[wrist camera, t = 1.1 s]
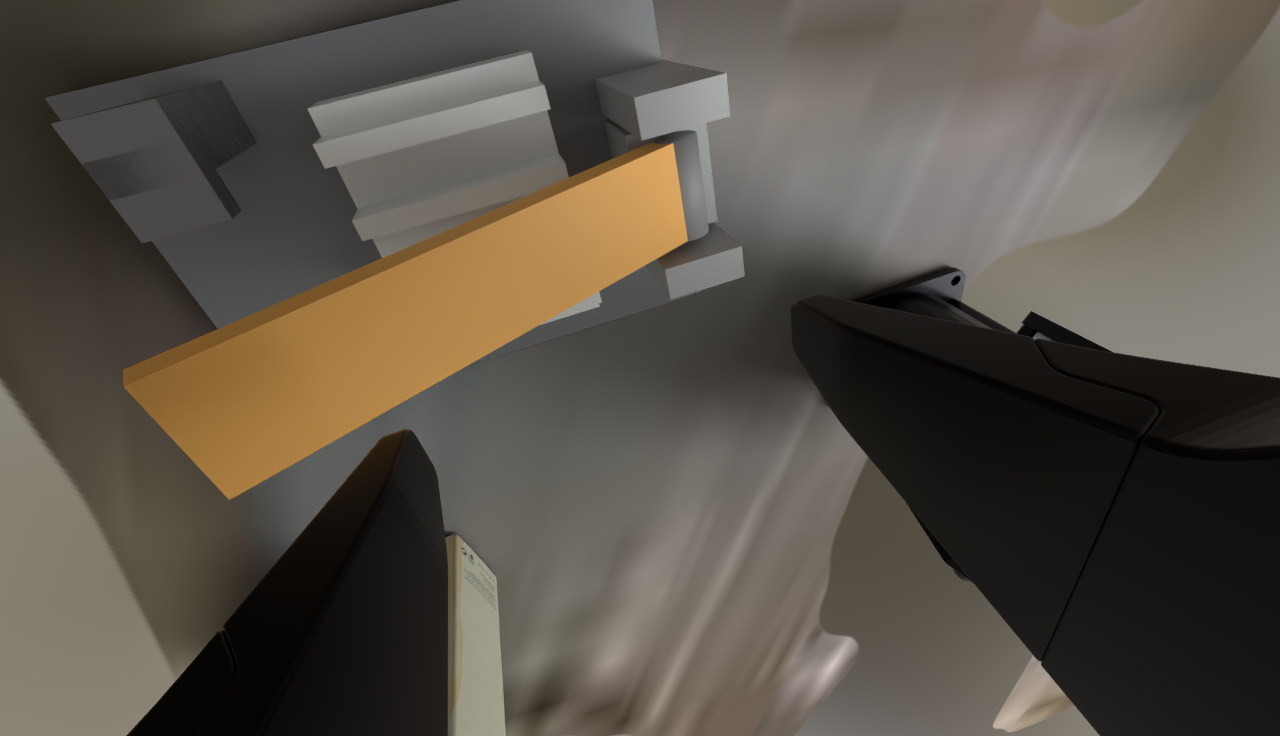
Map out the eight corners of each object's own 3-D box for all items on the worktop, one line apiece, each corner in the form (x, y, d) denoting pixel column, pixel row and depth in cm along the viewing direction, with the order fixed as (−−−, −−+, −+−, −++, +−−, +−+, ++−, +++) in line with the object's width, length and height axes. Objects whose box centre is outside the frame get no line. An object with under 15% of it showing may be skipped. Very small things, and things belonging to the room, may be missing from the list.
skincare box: (456, 528, 26) (456, 834, 16) (499, 577, 29) (521, 867, 19) (334, 584, 26) (260, 929, 16) (388, 628, 29) (353, 949, 19)
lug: (233, 77, 15) (154, 98, 11) (285, 170, 17) (232, 219, 13) (159, 94, 15) (50, 123, 11) (218, 187, 17) (141, 243, 13)
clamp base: (642, -42, 17) (714, -65, 12) (692, 282, 23) (751, 349, 18) (66, 93, 15) (-108, 128, 10) (294, 407, 21) (250, 515, 16)
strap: (675, 129, 16) (705, 130, 15) (688, 222, 17) (717, 228, 17) (123, 365, 10) (123, 391, 9) (223, 475, 11) (230, 505, 10)
